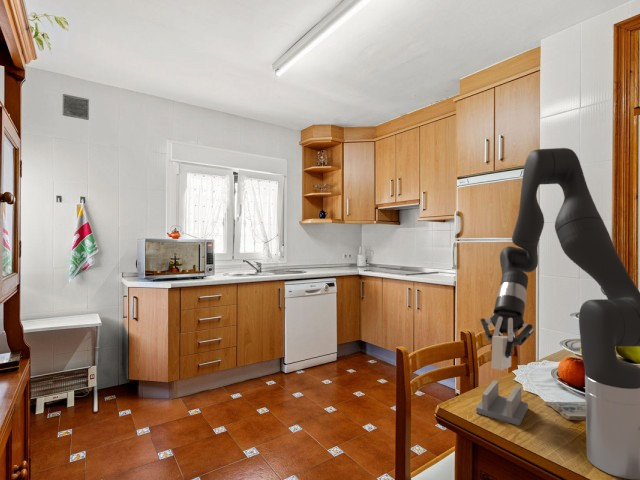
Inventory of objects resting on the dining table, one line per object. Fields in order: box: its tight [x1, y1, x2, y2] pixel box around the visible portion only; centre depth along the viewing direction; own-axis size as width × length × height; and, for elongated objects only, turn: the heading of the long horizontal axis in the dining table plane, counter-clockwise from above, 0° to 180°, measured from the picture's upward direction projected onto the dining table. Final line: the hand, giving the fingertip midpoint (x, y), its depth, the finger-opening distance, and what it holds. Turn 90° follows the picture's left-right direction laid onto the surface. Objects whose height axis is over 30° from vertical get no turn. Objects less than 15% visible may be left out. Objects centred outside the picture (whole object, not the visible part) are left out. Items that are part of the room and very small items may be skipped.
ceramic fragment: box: [543, 401, 586, 421], centre depth 91 cm, size 11×3×10 cm
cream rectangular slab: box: [490, 334, 512, 371], centre depth 94 cm, size 2×10×8 cm, turn 139°
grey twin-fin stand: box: [475, 380, 529, 427], centre depth 93 cm, size 10×11×6 cm
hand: (500, 354), depth 92 cm, fingers closed on cream rectangular slab, 2 cm apart
